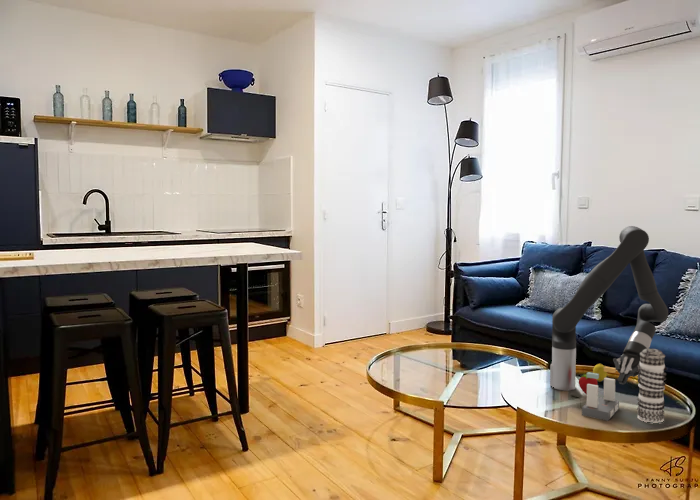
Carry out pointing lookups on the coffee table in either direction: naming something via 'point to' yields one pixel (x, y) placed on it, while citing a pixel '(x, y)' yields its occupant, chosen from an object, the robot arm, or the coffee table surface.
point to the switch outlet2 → (609, 385)
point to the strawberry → (586, 382)
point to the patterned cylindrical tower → (651, 386)
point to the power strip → (601, 409)
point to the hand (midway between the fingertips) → (620, 383)
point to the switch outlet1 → (592, 391)
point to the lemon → (600, 372)
